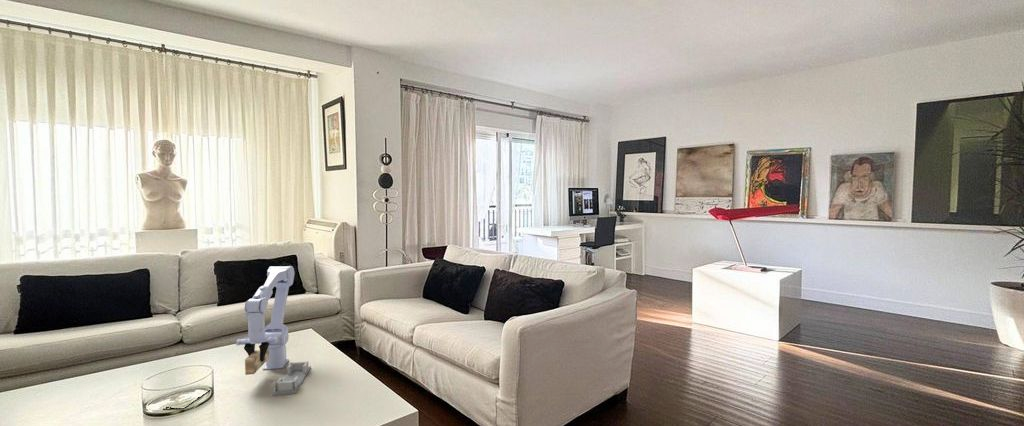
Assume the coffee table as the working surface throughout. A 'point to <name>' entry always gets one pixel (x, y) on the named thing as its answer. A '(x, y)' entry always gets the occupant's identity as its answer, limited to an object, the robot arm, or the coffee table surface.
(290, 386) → the end cap cradle
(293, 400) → the coffee table surface
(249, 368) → the oak slat
